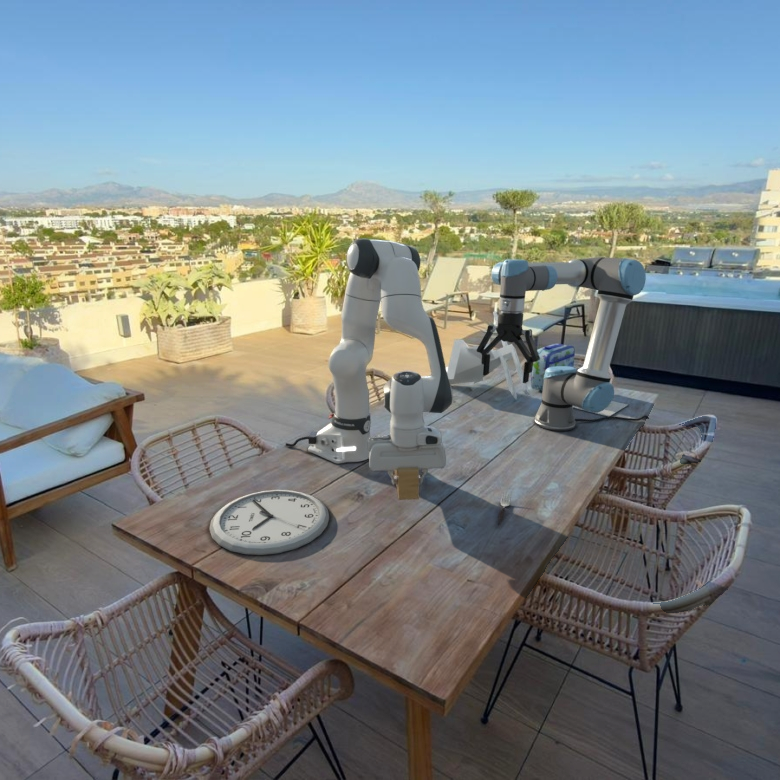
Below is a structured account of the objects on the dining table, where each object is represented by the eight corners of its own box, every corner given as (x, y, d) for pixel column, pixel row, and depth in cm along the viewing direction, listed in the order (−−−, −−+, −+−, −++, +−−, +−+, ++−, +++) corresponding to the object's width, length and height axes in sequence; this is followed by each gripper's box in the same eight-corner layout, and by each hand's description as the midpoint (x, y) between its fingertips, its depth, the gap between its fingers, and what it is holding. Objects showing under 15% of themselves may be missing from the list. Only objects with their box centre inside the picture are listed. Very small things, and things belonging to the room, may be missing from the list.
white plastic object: (461, 429, 252) (437, 405, 227) (444, 352, 274) (420, 323, 250) (535, 404, 240) (518, 377, 215) (510, 326, 262) (492, 293, 237)
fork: (492, 526, 134) (493, 519, 133) (502, 497, 148) (502, 491, 148) (503, 528, 133) (503, 521, 132) (511, 499, 147) (512, 492, 147)
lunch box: (547, 395, 239) (552, 351, 233) (526, 390, 247) (530, 347, 240) (574, 384, 257) (579, 343, 251) (554, 380, 264) (558, 339, 258)
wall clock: (327, 546, 121) (194, 551, 119) (327, 552, 122) (195, 557, 119) (330, 485, 150) (223, 488, 147) (330, 490, 150) (224, 493, 148)
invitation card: (608, 416, 214) (573, 407, 224) (608, 416, 214) (573, 408, 224) (628, 404, 229) (594, 396, 238) (628, 405, 229) (594, 397, 238)
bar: (392, 458, 160) (391, 434, 158) (409, 457, 161) (409, 433, 158) (398, 500, 136) (398, 471, 133) (418, 499, 136) (419, 471, 134)
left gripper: (367, 440, 131) (368, 490, 135) (447, 437, 132) (447, 487, 136) (366, 431, 137) (368, 479, 141) (444, 428, 138) (443, 476, 142)
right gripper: (468, 308, 164) (464, 373, 170) (546, 317, 150) (538, 388, 156) (480, 306, 170) (475, 369, 176) (555, 314, 155) (547, 382, 162)
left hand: (407, 483), depth 139 cm, fingers closed on bar, 5 cm apart
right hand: (505, 378), depth 166 cm, fingers open, 13 cm apart
